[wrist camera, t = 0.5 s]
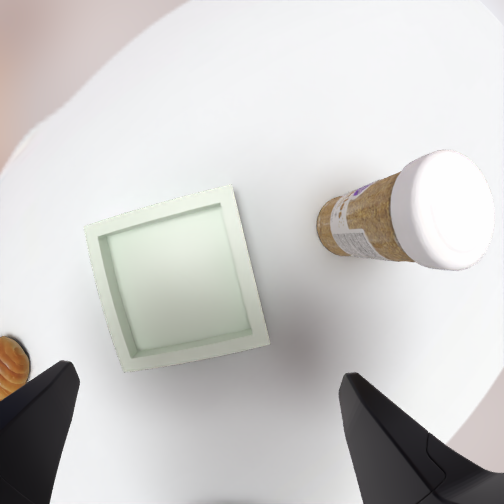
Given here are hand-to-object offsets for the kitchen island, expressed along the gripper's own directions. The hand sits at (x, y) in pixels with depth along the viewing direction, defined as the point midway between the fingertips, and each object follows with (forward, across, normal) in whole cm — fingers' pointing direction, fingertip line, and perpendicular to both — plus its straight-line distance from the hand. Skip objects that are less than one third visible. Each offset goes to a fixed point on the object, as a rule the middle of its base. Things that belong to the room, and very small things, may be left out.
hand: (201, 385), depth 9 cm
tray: (+13, +3, +3) cm, 14 cm away
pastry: (+10, +24, +13) cm, 29 cm away
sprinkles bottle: (+15, -9, -1) cm, 17 cm away
